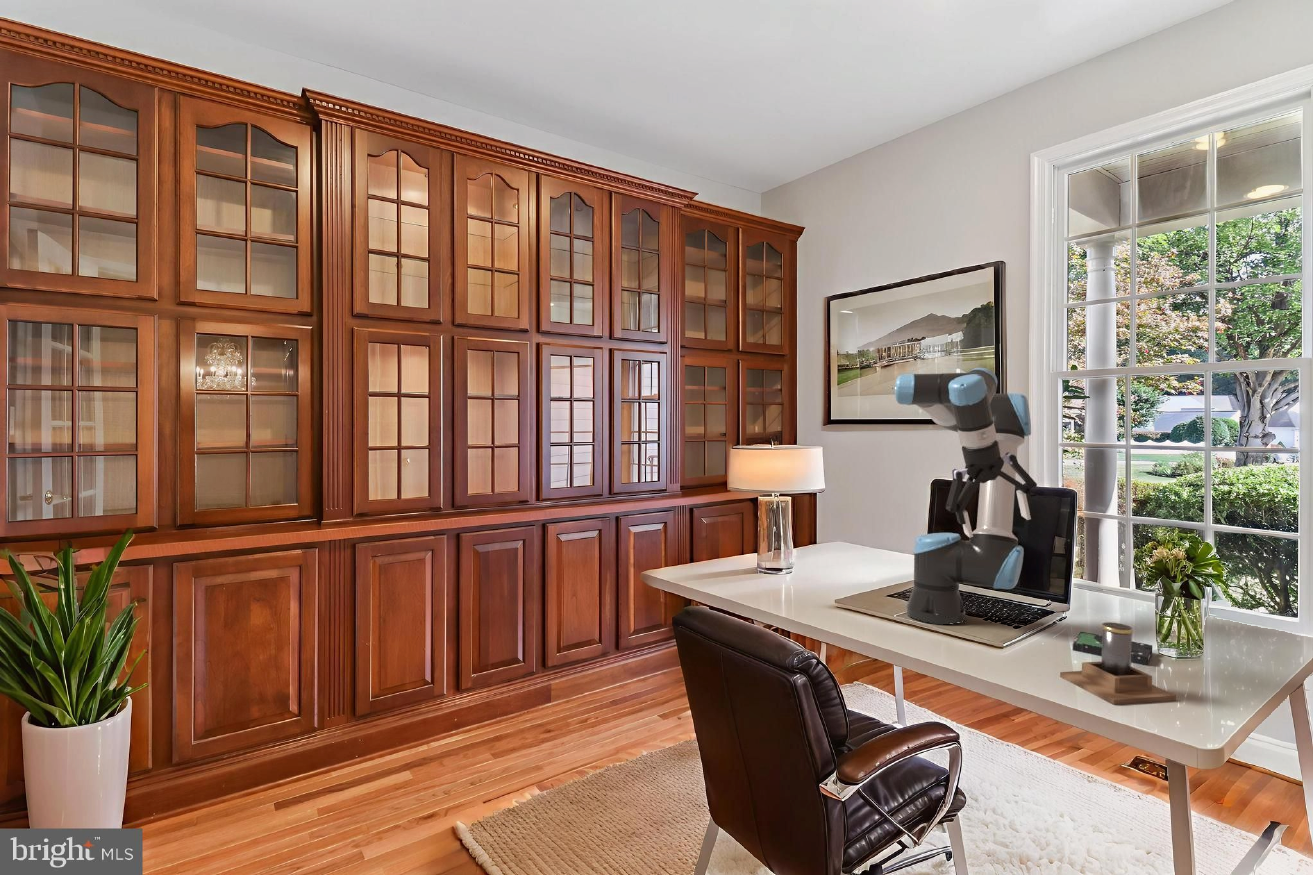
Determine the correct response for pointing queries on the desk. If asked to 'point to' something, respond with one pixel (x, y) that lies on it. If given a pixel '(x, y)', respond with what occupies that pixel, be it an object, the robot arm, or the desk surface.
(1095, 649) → the disk drive
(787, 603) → the desk surface
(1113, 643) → the grey post
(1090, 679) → the socket base
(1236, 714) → the desk surface
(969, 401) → the robot arm
